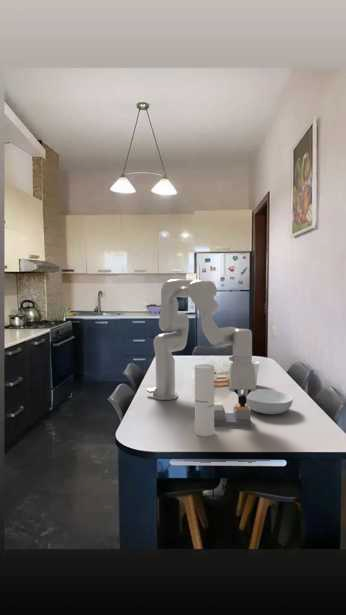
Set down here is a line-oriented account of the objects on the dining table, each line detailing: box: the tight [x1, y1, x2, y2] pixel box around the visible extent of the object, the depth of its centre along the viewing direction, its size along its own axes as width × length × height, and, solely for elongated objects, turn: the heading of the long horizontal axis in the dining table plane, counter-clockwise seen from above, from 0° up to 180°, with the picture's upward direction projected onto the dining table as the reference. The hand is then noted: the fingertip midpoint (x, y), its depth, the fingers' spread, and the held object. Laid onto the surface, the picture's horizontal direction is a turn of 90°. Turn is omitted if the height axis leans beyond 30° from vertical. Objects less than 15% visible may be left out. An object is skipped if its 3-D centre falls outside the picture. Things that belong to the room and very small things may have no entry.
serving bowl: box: [246, 388, 294, 415], centre depth 159 cm, size 21×21×7 cm
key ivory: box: [214, 401, 224, 411], centre depth 146 cm, size 4×4×3 cm
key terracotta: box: [235, 403, 249, 411], centre depth 145 cm, size 4×4×3 cm
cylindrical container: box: [194, 363, 215, 437], centre depth 135 cm, size 7×7×25 cm
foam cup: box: [252, 360, 260, 385], centre depth 201 cm, size 10×9×13 cm
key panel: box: [214, 405, 253, 428], centre depth 146 cm, size 16×10×6 cm, turn 88°
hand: (242, 405), depth 145 cm, fingers closed
